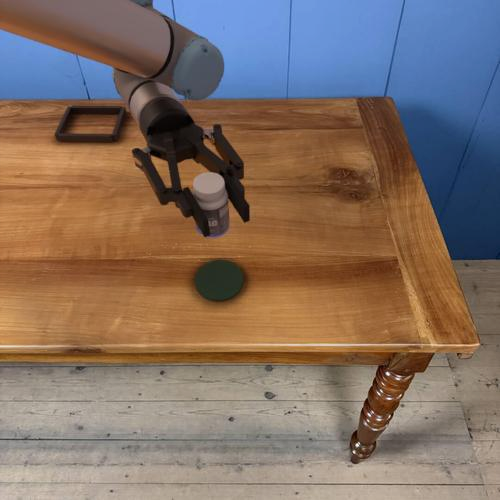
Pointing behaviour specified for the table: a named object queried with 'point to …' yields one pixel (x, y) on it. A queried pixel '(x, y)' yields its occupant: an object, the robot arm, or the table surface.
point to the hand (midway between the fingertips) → (226, 221)
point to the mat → (219, 280)
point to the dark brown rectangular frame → (90, 137)
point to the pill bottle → (212, 202)
